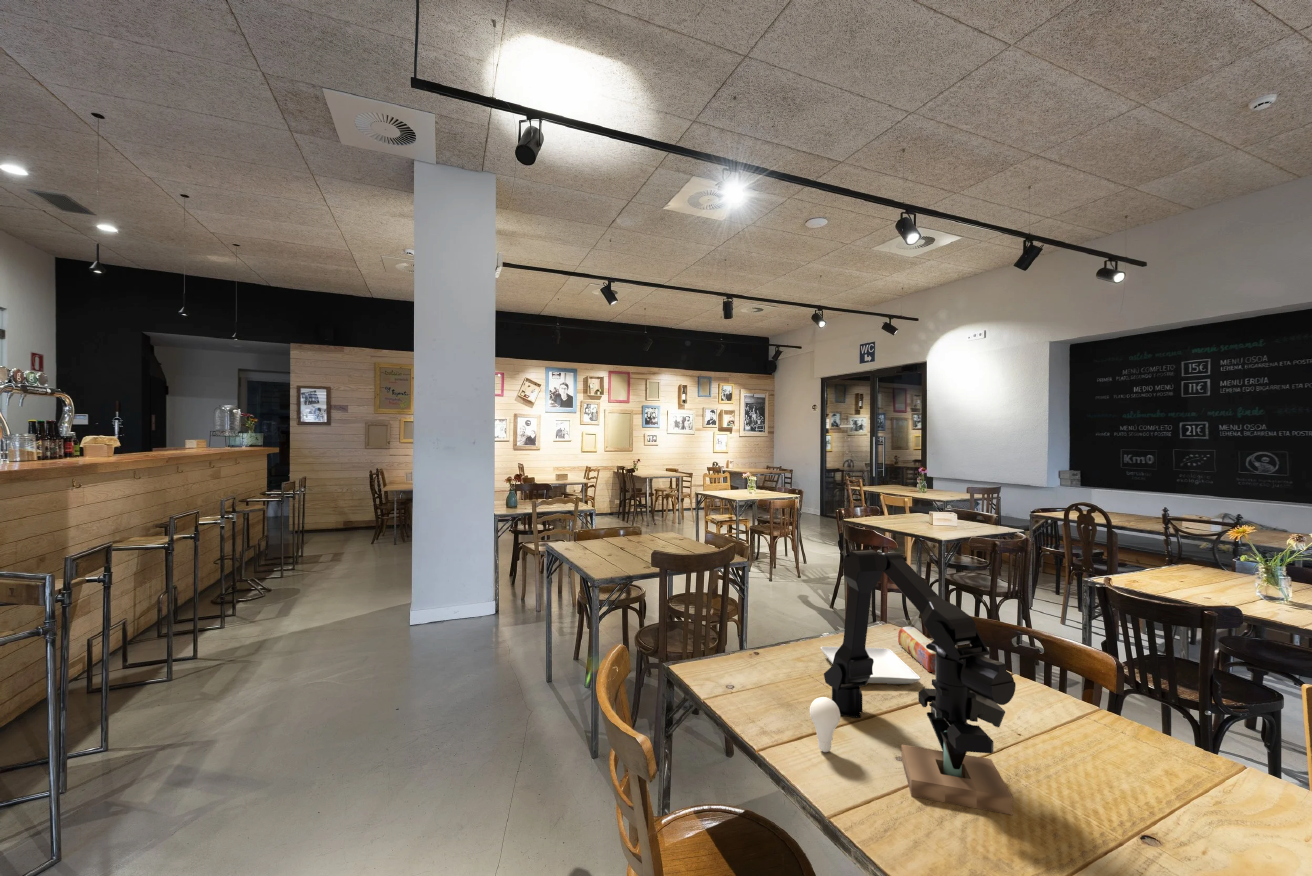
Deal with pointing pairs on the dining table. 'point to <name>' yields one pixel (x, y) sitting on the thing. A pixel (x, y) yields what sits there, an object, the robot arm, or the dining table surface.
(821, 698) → the lightbulb
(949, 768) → the long teal pin
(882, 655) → the salad plate
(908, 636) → the snack package
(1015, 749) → the dining table surface
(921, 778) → the walnut hole block
